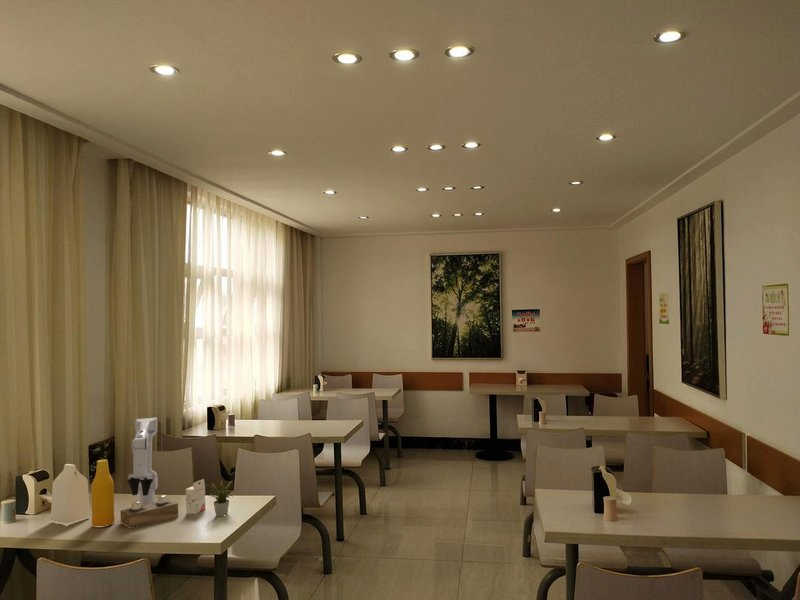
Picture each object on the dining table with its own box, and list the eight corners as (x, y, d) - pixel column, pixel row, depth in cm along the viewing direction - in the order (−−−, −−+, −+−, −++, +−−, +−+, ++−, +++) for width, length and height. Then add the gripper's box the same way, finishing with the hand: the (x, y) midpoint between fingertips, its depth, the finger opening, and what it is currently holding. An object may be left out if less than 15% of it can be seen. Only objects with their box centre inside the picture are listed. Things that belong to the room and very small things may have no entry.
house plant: (202, 522, 272) (201, 485, 272) (203, 513, 285) (202, 478, 286) (235, 518, 276) (234, 482, 276) (234, 509, 289) (233, 475, 290)
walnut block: (120, 523, 274) (120, 510, 274) (168, 511, 289) (167, 499, 289) (130, 528, 266) (129, 514, 266) (178, 516, 281) (177, 503, 282)
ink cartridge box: (197, 508, 293) (196, 478, 294) (205, 509, 291) (205, 478, 292) (185, 513, 285) (185, 482, 285) (194, 514, 283) (193, 483, 284)
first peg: (130, 514, 273) (130, 502, 274) (139, 512, 276) (139, 500, 276) (133, 516, 271) (133, 504, 271) (142, 514, 273) (142, 501, 274)
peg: (156, 508, 282) (156, 496, 282) (164, 506, 285) (164, 494, 285) (160, 509, 279) (159, 497, 279) (168, 507, 282) (168, 495, 282)
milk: (50, 523, 278) (50, 466, 279) (74, 515, 288) (73, 461, 289) (66, 526, 272) (66, 468, 273) (90, 518, 282) (89, 463, 283)
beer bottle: (117, 524, 272) (116, 460, 273) (95, 529, 266) (94, 463, 267) (110, 520, 279) (109, 457, 280) (89, 525, 273) (88, 460, 274)
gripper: (122, 465, 275) (122, 496, 273) (142, 465, 267) (142, 497, 265) (136, 463, 281) (136, 493, 279) (156, 463, 273) (156, 494, 271)
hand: (140, 495), depth 272 cm, fingers open, 7 cm apart
